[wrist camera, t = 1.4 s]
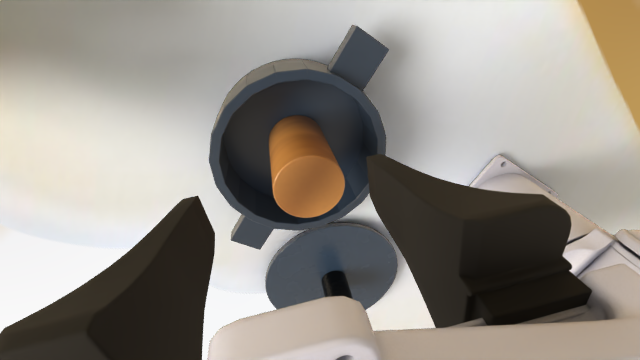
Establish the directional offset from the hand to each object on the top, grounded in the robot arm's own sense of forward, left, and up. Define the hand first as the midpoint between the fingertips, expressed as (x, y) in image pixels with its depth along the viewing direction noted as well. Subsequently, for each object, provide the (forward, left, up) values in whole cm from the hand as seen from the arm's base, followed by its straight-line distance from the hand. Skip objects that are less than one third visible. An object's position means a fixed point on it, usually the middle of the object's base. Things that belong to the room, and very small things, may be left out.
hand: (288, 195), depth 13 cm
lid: (-12, +11, -10) cm, 19 cm away
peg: (-2, +1, -10) cm, 10 cm away
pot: (-2, +1, -10) cm, 11 cm away
